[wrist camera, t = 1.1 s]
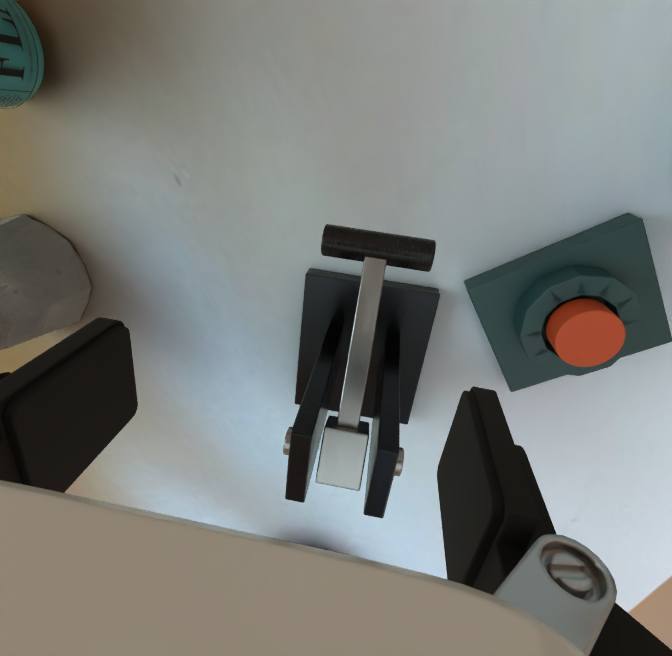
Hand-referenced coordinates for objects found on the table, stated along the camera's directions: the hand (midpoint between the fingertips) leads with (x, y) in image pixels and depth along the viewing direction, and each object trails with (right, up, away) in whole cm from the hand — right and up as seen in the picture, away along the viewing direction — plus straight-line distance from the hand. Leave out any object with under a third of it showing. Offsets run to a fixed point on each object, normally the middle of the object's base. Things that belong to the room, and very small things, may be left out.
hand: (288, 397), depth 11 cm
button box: (+16, +3, +16) cm, 23 cm away
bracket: (+3, +1, +19) cm, 20 cm away
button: (+16, +2, +13) cm, 21 cm away
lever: (+3, 0, +11) cm, 11 cm away
